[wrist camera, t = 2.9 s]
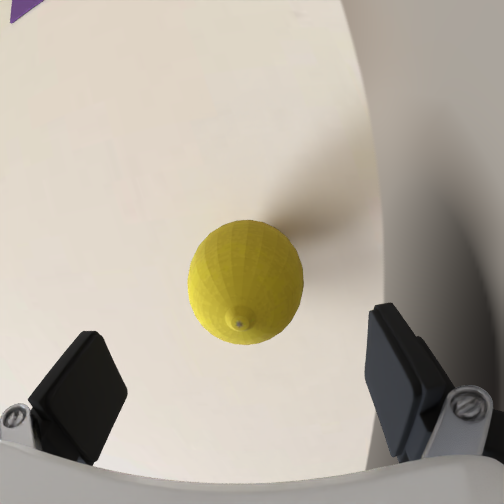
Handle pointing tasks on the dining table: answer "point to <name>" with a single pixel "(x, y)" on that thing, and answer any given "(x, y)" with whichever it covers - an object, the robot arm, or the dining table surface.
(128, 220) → the dining table surface
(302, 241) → the dining table surface
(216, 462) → the dining table surface
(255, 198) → the dining table surface
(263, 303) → the lemon
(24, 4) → the cloth
